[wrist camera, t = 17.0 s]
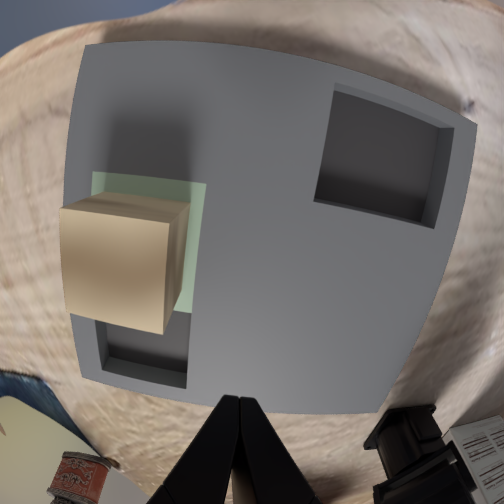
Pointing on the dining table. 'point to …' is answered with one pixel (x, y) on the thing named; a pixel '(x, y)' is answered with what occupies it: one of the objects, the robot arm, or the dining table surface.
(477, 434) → the supplement box
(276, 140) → the board
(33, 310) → the dining table surface
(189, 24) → the dining table surface
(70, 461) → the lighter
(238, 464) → the robot arm
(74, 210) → the maple block
